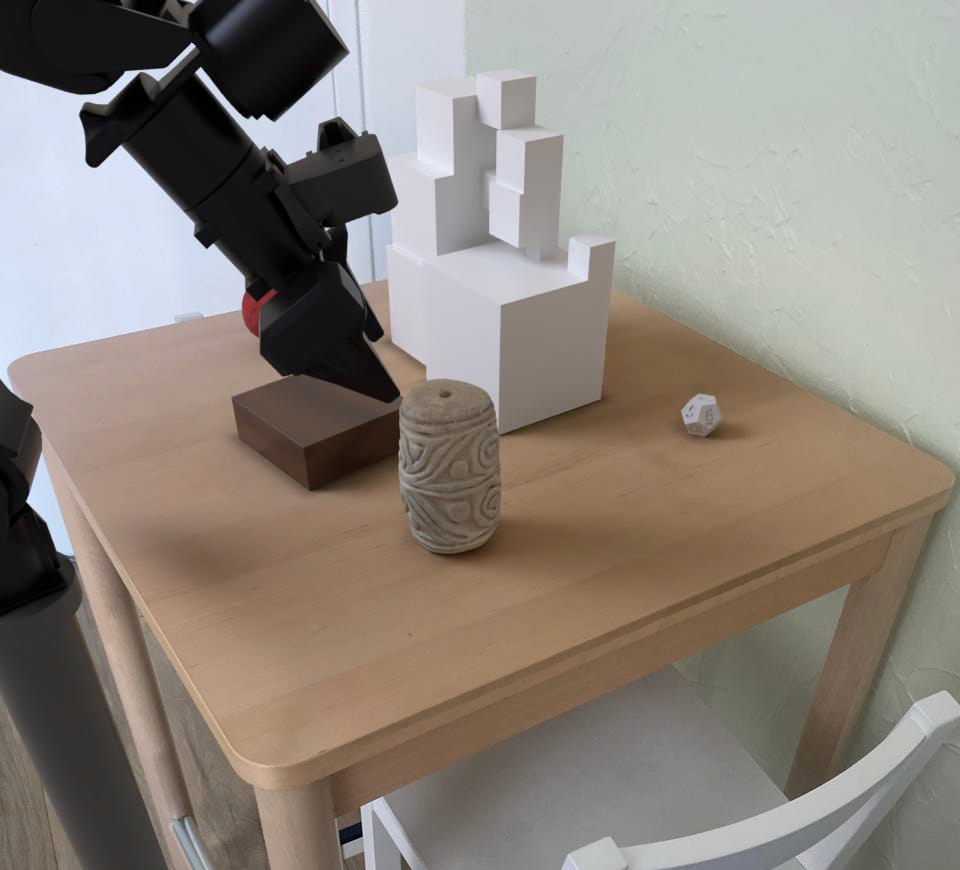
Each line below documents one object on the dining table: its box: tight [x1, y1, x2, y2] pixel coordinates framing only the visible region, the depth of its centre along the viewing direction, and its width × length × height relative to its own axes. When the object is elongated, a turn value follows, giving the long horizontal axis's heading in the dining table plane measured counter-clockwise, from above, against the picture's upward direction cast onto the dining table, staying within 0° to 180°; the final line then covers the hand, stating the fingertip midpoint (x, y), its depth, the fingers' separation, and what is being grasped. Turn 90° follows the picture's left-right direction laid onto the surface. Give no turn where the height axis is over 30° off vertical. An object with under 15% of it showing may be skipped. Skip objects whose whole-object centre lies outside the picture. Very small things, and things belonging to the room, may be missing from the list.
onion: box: [241, 289, 279, 339], centre depth 95 cm, size 6×6×8 cm
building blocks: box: [385, 67, 617, 436], centre depth 85 cm, size 22×12×25 cm, turn 35°
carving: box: [397, 379, 502, 555], centre depth 69 cm, size 6×8×12 cm
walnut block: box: [231, 374, 405, 491], centre depth 82 cm, size 11×11×4 cm
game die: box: [680, 393, 723, 438], centre depth 84 cm, size 4×4×3 cm
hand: (386, 366), depth 65 cm, fingers open, 9 cm apart
